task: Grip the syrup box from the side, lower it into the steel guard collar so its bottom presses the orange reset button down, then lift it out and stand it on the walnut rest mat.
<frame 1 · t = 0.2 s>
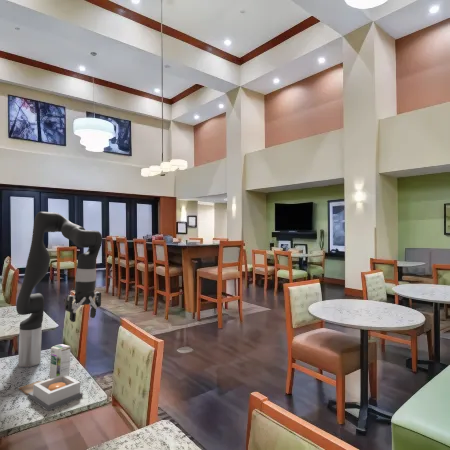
hand: (82, 319, 133), 29 cm above the table, tool pointing down, fingers open, 8 cm apart
syrup box: (59, 380, 141), on the table
rest mat: (33, 388, 134), on the table
reset button: (56, 389, 127), point 3 cm above the table, slide at 0.0 cm
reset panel: (55, 396, 127), on the table
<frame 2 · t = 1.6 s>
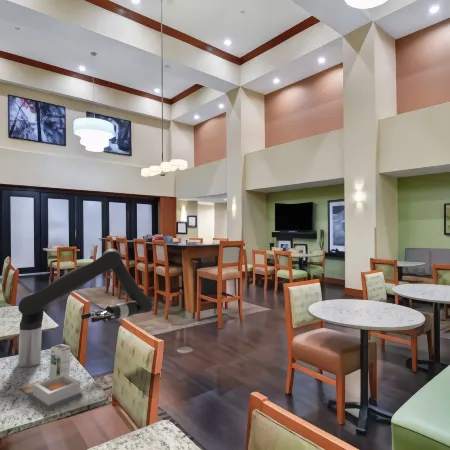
hand: (86, 318, 151), 24 cm above the table, tool horizontal, fingers open, 8 cm apart
nothing on the table moved.
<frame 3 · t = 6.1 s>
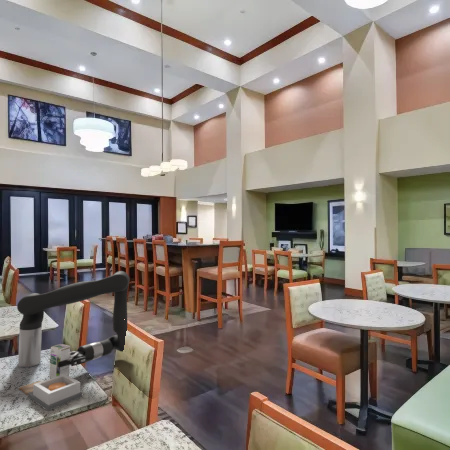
hand: (54, 363, 139), 8 cm above the table, tool horizontal, fingers closed on syrup box, 6 cm apart
syrup box: (59, 380, 141), on the table, touching gripper
everything else where it was.
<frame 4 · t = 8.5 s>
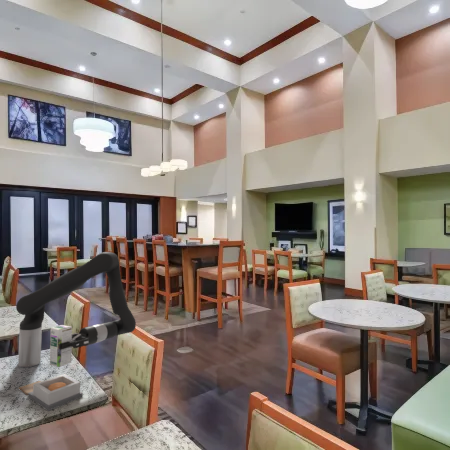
hand: (54, 345, 128), 20 cm above the table, tool horizontal, fingers closed on syrup box, 6 cm apart
syrup box: (60, 364, 130), point 12 cm above the table, touching gripper
everything else where it was.
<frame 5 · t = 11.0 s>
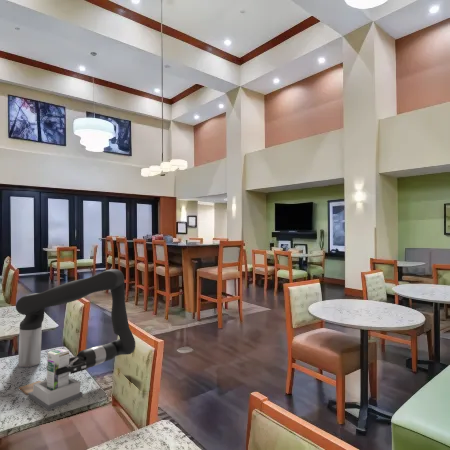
hand: (51, 370, 125), 11 cm above the table, tool horizontal, fingers closed on syrup box, 6 cm apart
syrup box: (57, 389, 127), point 3 cm above the table, touching gripper, reset button
reset button: (56, 392, 127), point 2 cm above the table, slide at 1.3 cm, touching syrup box
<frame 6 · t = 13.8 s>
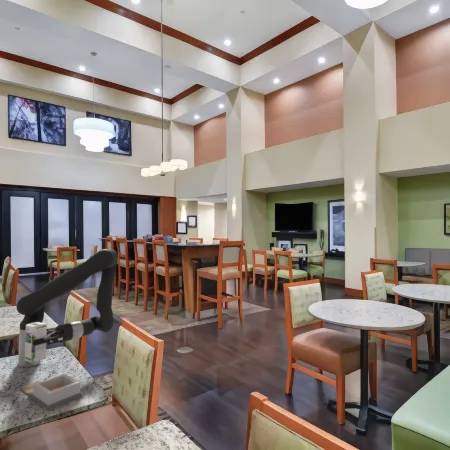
hand: (29, 341, 132), 20 cm above the table, tool horizontal, fingers closed on syrup box, 6 cm apart
syrup box: (35, 360, 134), point 11 cm above the table, touching gripper
reset button: (56, 392, 127), point 2 cm above the table, slide at 1.3 cm
when the fingers open (10 cm above the table, at t = 16.1 s): syrup box moves 1 cm, resting on rest mat.
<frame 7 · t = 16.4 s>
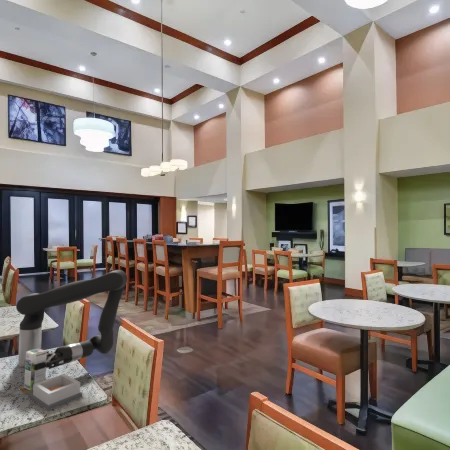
hand: (29, 365, 132), 10 cm above the table, tool horizontal, fingers open, 8 cm apart
syrup box: (34, 387, 134), resting on rest mat
everything else where it was.
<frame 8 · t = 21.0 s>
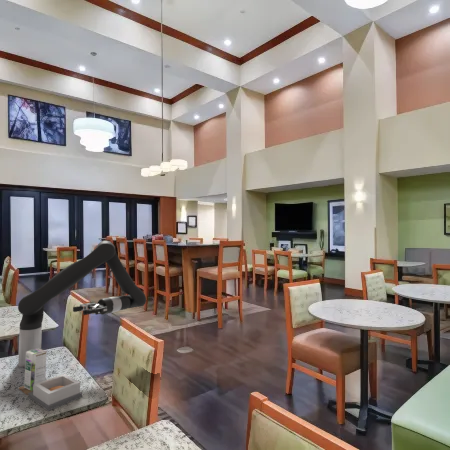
hand: (78, 311, 149), 28 cm above the table, tool horizontal, fingers open, 8 cm apart
nothing on the table moved.
at the end: reset button slide at 1.3 cm; syrup box inside the target area (0.4 cm from its centre), resting on rest mat; syrup box tilted 0° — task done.
